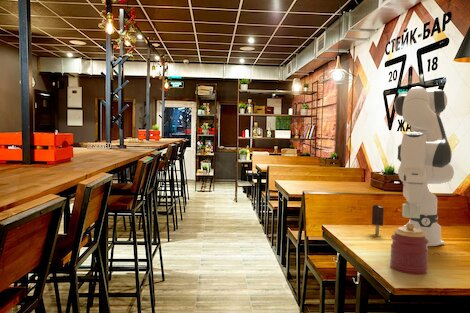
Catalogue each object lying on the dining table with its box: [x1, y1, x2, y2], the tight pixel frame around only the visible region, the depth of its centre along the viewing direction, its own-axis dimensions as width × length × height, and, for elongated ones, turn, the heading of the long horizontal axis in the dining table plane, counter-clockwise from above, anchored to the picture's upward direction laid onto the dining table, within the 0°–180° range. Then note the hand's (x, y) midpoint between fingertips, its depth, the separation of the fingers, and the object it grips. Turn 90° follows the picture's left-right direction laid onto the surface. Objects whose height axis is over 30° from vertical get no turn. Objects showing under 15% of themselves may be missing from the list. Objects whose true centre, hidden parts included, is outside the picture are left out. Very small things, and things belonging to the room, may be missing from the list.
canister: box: [389, 222, 429, 275], centre depth 145 cm, size 13×13×18 cm
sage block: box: [401, 203, 420, 219], centre depth 144 cm, size 4×6×4 cm
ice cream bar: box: [371, 204, 385, 235], centre depth 196 cm, size 5×2×15 cm, turn 62°
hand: (410, 212), depth 144 cm, fingers closed on sage block, 4 cm apart
